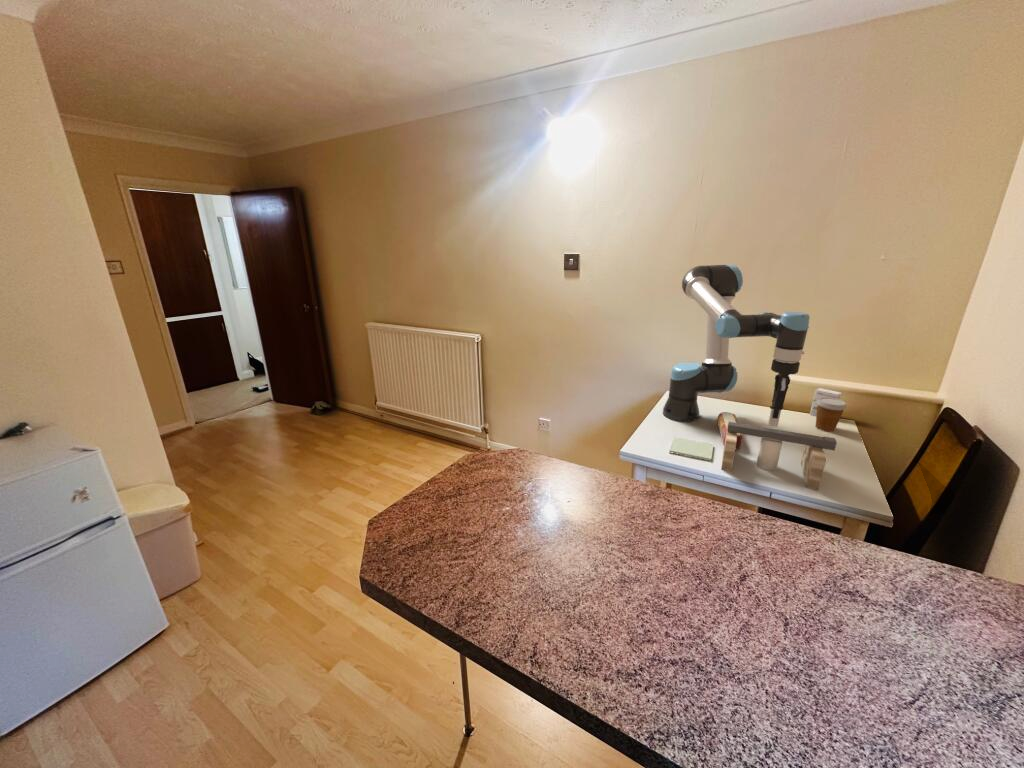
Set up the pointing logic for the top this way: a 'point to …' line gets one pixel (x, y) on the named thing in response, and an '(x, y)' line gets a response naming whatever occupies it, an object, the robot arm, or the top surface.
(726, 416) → the snack package
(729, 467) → the rails
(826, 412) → the disposable coffee cup
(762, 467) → the cream rounded wedge
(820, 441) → the grey long bar
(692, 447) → the pad
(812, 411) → the ink box
